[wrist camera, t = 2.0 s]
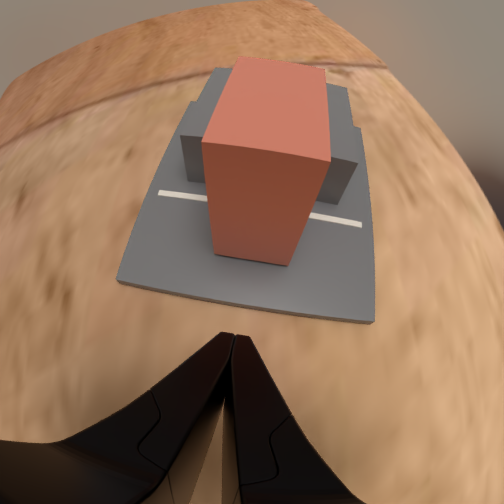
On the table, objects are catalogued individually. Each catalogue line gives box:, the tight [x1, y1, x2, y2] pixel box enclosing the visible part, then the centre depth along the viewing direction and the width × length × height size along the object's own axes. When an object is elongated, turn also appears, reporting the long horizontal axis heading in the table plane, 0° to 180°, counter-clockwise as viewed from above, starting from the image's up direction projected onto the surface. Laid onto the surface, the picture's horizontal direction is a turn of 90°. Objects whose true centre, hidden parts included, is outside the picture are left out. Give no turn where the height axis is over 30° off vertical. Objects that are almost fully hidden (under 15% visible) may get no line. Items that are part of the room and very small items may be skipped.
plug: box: [201, 56, 331, 266], centre depth 17 cm, size 8×5×10 cm, turn 171°
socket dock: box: [116, 68, 375, 324], centre depth 21 cm, size 20×18×6 cm
